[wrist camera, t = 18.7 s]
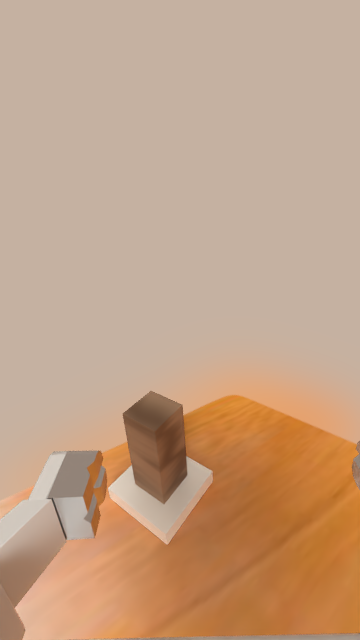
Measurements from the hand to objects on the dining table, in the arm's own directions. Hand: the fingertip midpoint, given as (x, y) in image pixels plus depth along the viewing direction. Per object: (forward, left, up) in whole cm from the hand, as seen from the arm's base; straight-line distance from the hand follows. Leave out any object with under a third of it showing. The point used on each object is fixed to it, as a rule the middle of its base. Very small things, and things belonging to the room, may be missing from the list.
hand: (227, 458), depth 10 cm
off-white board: (-13, -17, -30) cm, 37 cm away
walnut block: (-13, -17, -28) cm, 36 cm away
